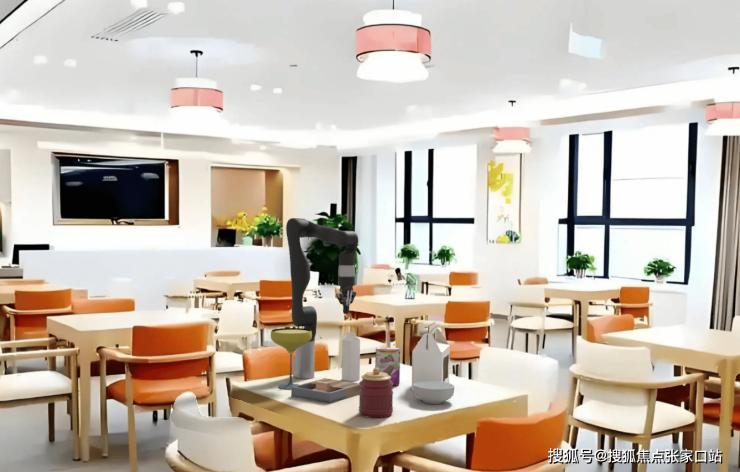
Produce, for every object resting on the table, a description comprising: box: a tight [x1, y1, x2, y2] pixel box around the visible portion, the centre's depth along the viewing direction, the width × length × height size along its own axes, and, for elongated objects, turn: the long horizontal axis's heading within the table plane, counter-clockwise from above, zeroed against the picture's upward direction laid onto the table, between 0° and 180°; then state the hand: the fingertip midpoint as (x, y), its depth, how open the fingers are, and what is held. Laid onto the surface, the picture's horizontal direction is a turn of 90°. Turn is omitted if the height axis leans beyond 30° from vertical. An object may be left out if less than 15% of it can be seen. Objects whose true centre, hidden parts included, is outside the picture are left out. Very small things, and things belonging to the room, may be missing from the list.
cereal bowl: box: [413, 381, 455, 405], centre depth 300 cm, size 17×17×7 cm
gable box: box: [411, 322, 451, 392], centre depth 329 cm, size 22×13×28 cm, turn 165°
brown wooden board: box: [308, 377, 361, 399], centre depth 314 cm, size 20×12×4 cm, turn 56°
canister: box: [358, 367, 394, 419], centre depth 279 cm, size 13×13×18 cm
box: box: [290, 382, 347, 404], centre depth 305 cm, size 20×11×4 cm, turn 56°
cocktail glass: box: [270, 327, 312, 391], centre depth 324 cm, size 18×18×25 cm
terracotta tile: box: [315, 380, 330, 393], centre depth 307 cm, size 6×5×2 cm
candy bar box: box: [374, 346, 402, 386], centre depth 332 cm, size 11×5×16 cm, turn 84°
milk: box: [341, 331, 361, 382], centre depth 341 cm, size 6×6×22 cm
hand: (346, 313), depth 330 cm, fingers closed
